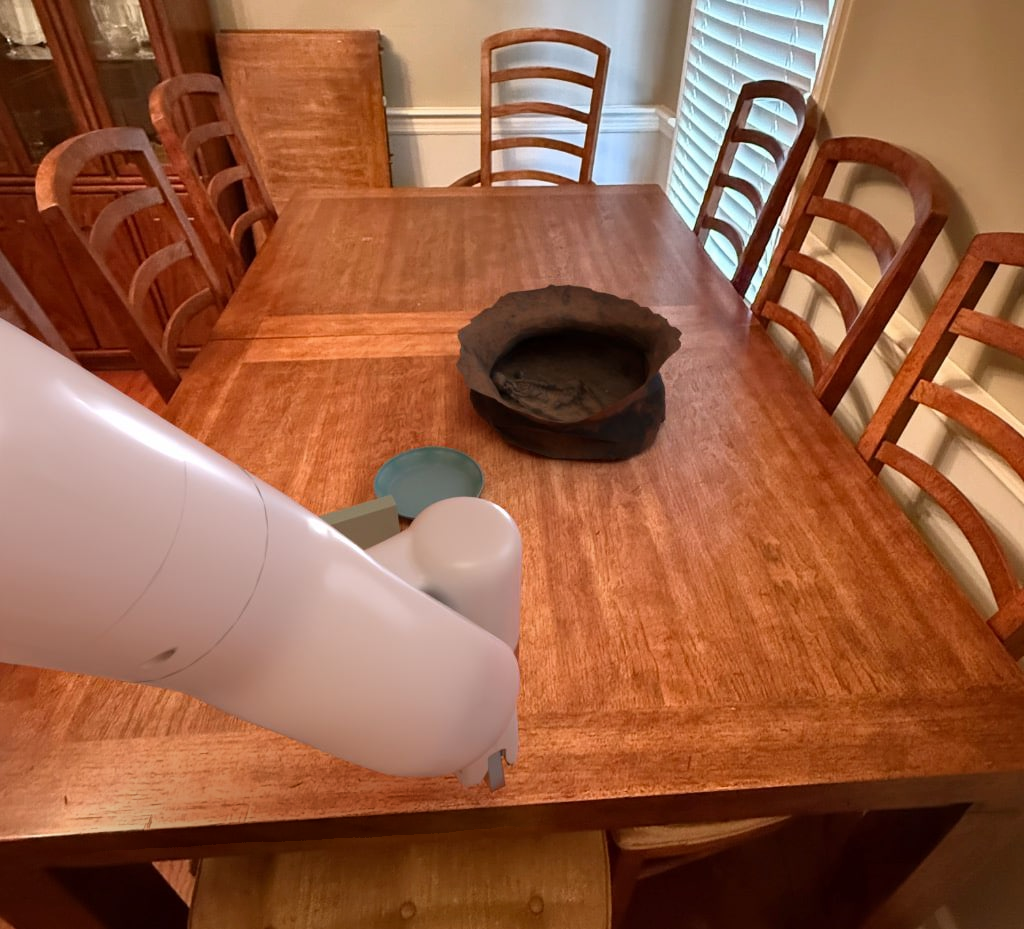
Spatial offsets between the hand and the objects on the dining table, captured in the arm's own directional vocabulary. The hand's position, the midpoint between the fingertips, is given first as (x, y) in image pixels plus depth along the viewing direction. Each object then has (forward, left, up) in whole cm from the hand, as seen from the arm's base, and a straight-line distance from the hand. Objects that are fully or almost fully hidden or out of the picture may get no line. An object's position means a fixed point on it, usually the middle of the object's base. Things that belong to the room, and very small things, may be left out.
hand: (473, 769), depth 62 cm
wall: (-5, +33, -3) cm, 33 cm away
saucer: (+11, +39, -3) cm, 41 cm away
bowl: (+37, +49, -3) cm, 61 cm away
